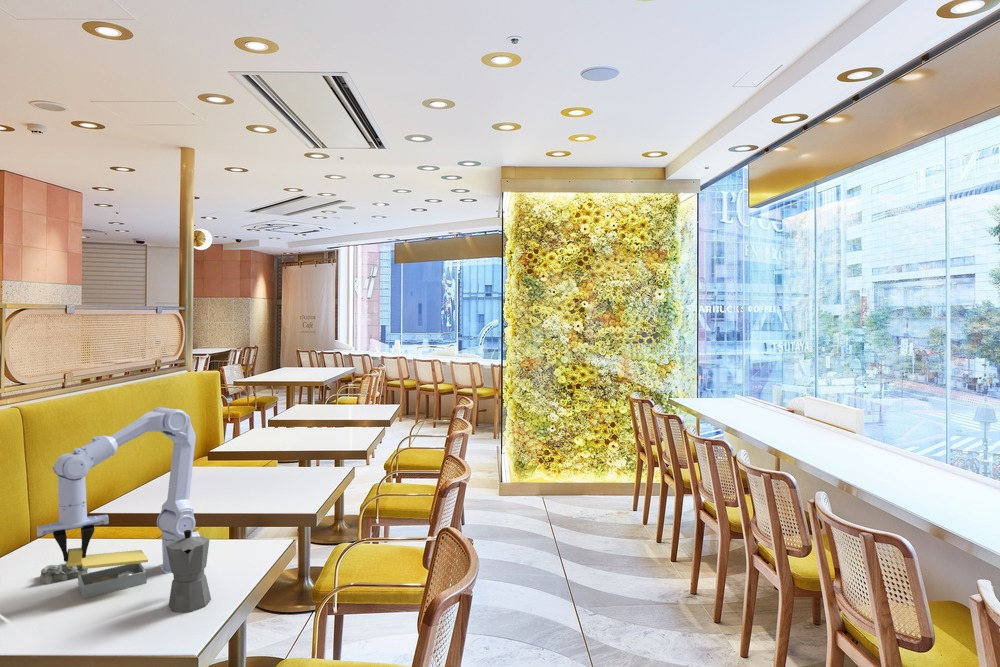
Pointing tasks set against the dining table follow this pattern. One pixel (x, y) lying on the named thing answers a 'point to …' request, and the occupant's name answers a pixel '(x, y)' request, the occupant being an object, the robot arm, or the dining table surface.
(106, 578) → the walnut block
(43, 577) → the egg carton
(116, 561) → the lid
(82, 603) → the dining table surface
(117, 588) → the tub
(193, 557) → the coffeepot
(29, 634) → the dining table surface
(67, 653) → the dining table surface
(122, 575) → the grey rounded puck
